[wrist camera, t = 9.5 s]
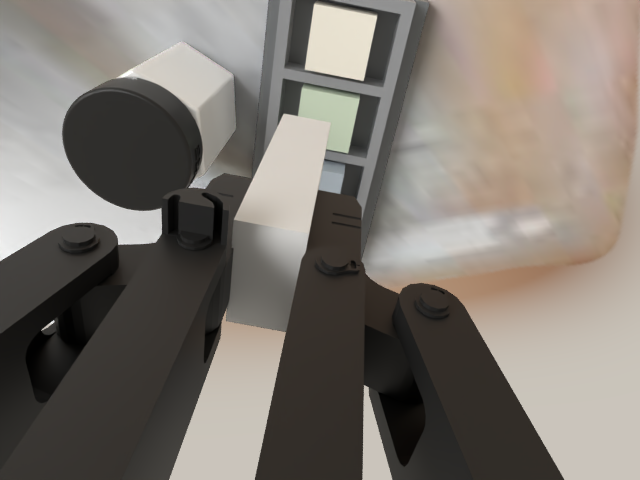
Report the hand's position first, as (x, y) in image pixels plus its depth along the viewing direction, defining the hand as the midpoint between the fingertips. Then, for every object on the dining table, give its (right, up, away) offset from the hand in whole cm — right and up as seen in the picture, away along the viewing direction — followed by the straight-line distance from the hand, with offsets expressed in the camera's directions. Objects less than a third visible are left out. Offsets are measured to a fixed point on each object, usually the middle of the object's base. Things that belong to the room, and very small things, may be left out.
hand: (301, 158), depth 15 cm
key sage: (+1, +7, +21) cm, 23 cm away
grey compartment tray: (+1, +6, +25) cm, 25 cm away
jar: (-10, +9, +24) cm, 28 cm away
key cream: (+2, +12, +18) cm, 22 cm away
